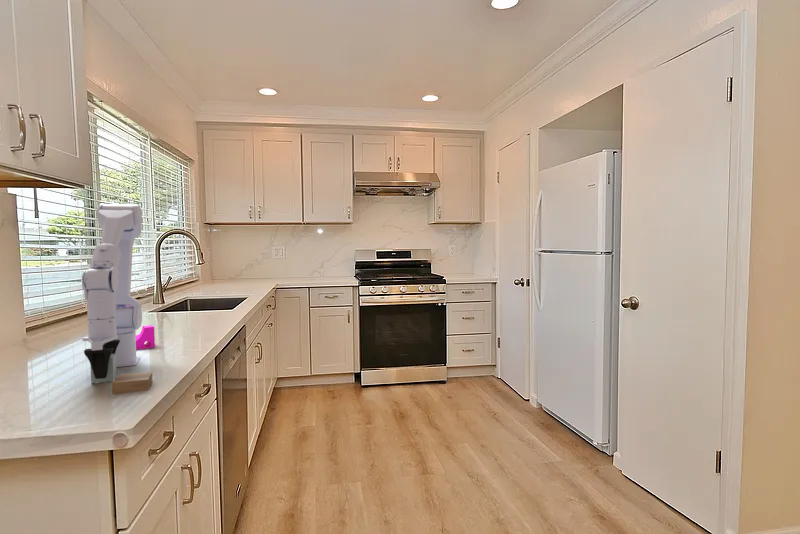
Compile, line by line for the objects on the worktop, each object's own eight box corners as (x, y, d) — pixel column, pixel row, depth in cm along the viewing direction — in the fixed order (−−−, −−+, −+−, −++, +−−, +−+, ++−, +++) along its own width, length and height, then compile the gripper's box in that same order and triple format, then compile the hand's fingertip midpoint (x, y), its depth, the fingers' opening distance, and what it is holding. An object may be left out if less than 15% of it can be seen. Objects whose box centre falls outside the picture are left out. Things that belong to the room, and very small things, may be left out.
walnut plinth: (118, 387, 106) (118, 374, 106) (152, 383, 109) (152, 371, 109) (112, 396, 100) (112, 383, 99) (148, 392, 102) (148, 379, 102)
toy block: (151, 346, 149) (150, 324, 148) (154, 350, 144) (154, 326, 144) (96, 353, 140) (95, 329, 139) (98, 357, 135) (97, 332, 134)
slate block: (95, 379, 112) (94, 355, 111) (116, 377, 113) (115, 353, 113) (91, 384, 107) (90, 359, 107) (113, 382, 109) (112, 357, 109)
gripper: (89, 315, 115) (90, 368, 115) (74, 323, 101) (76, 384, 102) (121, 313, 118) (123, 365, 118) (111, 321, 104) (113, 380, 105)
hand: (104, 374), depth 110 cm, fingers open, 7 cm apart
